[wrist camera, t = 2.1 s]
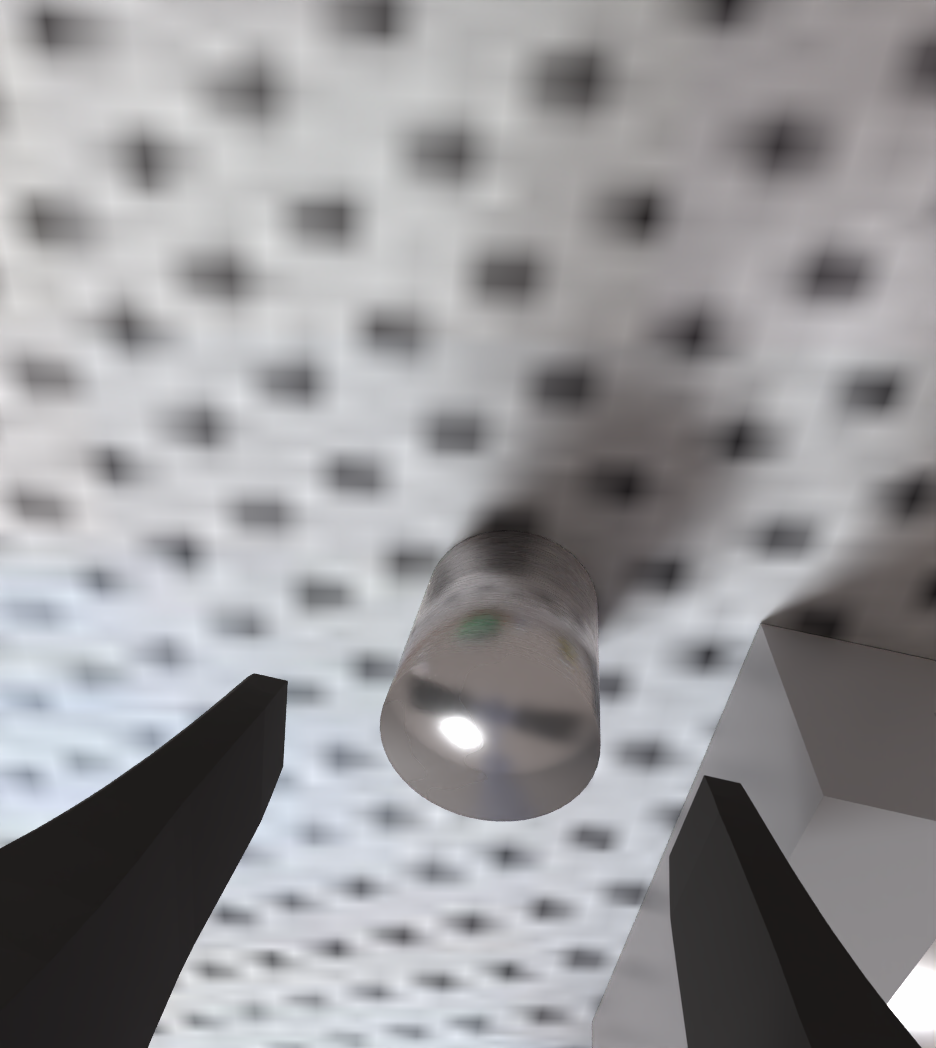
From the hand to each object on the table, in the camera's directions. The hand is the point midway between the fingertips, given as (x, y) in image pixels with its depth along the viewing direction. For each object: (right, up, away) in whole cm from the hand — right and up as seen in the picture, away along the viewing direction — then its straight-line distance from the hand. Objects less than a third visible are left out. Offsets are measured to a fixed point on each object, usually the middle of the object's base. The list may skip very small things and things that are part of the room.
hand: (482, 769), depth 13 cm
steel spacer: (+1, +2, +5) cm, 5 cm away
